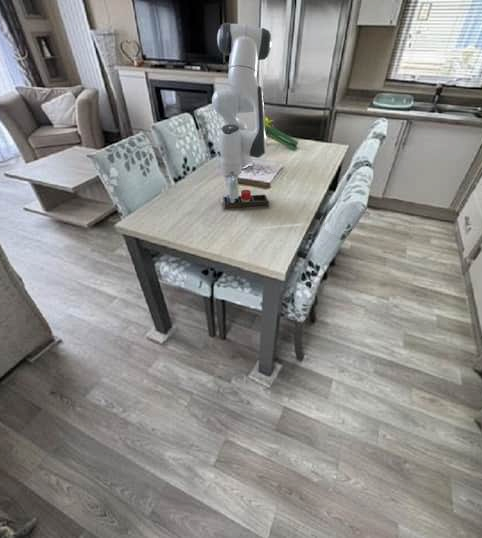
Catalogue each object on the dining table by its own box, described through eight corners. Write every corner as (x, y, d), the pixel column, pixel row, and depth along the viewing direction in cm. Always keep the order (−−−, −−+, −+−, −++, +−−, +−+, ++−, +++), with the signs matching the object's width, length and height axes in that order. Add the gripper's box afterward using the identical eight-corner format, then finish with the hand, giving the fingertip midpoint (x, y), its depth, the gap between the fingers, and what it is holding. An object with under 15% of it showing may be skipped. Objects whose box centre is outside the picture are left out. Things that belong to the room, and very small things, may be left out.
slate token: (226, 200, 135) (226, 194, 133) (235, 200, 135) (235, 193, 134) (227, 204, 132) (227, 198, 130) (236, 204, 132) (236, 198, 130)
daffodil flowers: (288, 154, 193) (244, 131, 200) (292, 160, 207) (250, 138, 214) (302, 129, 189) (256, 107, 196) (305, 137, 203) (262, 115, 210)
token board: (223, 203, 137) (223, 196, 135) (265, 200, 140) (265, 194, 138) (224, 210, 132) (224, 203, 130) (268, 207, 134) (268, 201, 132)
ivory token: (240, 202, 136) (240, 196, 135) (249, 201, 137) (249, 195, 135) (241, 206, 133) (241, 200, 131) (250, 205, 134) (251, 199, 132)
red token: (240, 196, 134) (240, 189, 133) (249, 195, 135) (249, 189, 133) (242, 200, 131) (242, 193, 129) (251, 199, 132) (251, 193, 130)
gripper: (242, 177, 116) (242, 209, 125) (235, 159, 132) (235, 189, 141) (225, 178, 115) (227, 210, 124) (221, 160, 131) (222, 190, 140)
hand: (231, 199), depth 133 cm, fingers closed on slate token, 4 cm apart
